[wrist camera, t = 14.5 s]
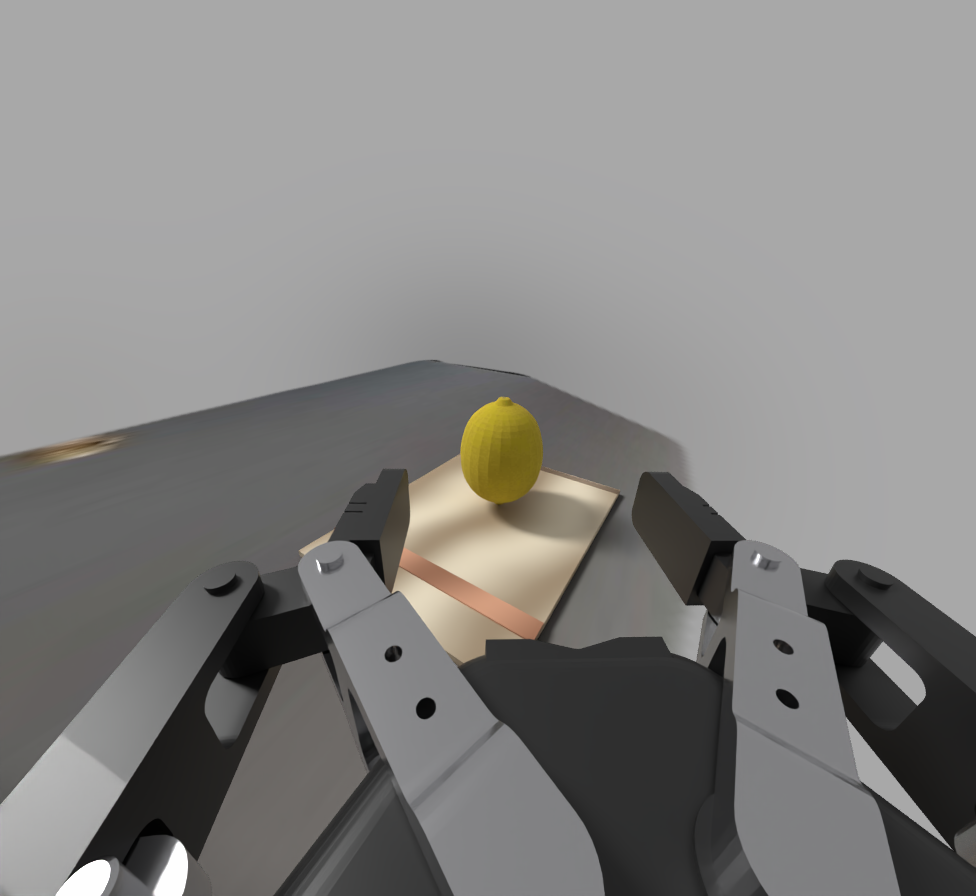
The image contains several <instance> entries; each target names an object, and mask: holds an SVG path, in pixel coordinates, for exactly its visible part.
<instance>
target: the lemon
mask: <svg viewBox="0 0 976 896" xmlns="http://www.w3.org/2000/svg"><path fill="white" fill-rule="evenodd" d="M542 459H543V445H542V438H541V433H540V430H539V427H538V424H537V422H536V420H535V419H534V417H533V416H532V415H531V414H530V413H529V412H528V411H527V410H526V409H525V408H523V407H522V406H520V405H518V404H516V403H513V402H512V401H511V400H510V398H508V397H500V398H499V399H498V400H497V401H496V402H492V403H489V404H487V405H485V406H483V407H482V408H480V409H479V410H478V411H476V412H475V413H474V414H473V415H472V417H471V418H470V420H469V422H468V423H467V426H466V428H465V431H464V434H463V438H462V443H461V466H462V471H463V475H464V478H465V480H466V482H467V483H468V485H469V486H470V488H471V489H472V490H473V491H474V492H475V493H476V494H477V495H478V496H480V497H481V498H483V499H485V500H487V501H490V502H494V503H495V504H497V505H502V504H504V503H508V502H512V501H515V500H517V499H519V498H521V497H523V496H524V495H525V494H527V493H528V492H529V490H530V489H531V488H532V487H533V486H534V484H535V483H536V481H537V478H538V476H539V472H540V469H541V465H542Z"/></svg>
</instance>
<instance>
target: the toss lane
mask: <svg viewBox="0 0 976 896" xmlns="http://www.w3.org/2000/svg"><path fill="white" fill-rule="evenodd" d="M408 486H409V499H410V523H409V528H408V532H407V536H406V540H405V544H404V548H403V552H402V556H401V560H400V564H399V567H398V571H397V575H396V579H395V583H394V587H393V591H392V593H394V592H396V591H400V592H401V593H402V594H403V595H404V596H405V597H406V598H407V600H408V601H409V602H410V604H411V605H412V607H413V608H414V609H415V611H416V612H417V613H418V615H419V616H420V617H421V619H422V620H423V621H424V623H425V624H426V626H427V627H428V628H429V630H430V631H431V632H432V634H433V635H434V636H435V638H436V639H437V640H438V642H439V643H440V645H441V646H442V647H443V649H444V650H445V651H446V653H447V654H448V655H449V657H450V658H451V659H452V661H453V662H454V663H456V664H457V665H459V666H460V665H462V664H463V663H465V662H467V661H469V660H472V659H474V658H476V657H479V656H482V655H485V643H486V639H533V640H538V638H539V636H540V634H541V632H542V631H543V629H544V627H545V625H546V624H547V622H548V620H549V618H550V617H551V615H552V613H553V611H554V609H555V608H556V606H557V604H558V602H559V601H560V599H561V597H562V595H563V593H564V592H565V590H566V588H567V586H568V585H569V583H570V581H571V579H572V577H573V576H574V574H575V572H576V570H577V569H578V567H579V565H580V563H581V561H582V560H583V558H584V556H585V554H586V553H587V551H588V549H589V547H590V545H591V544H592V542H593V540H594V538H595V537H596V535H597V533H598V531H599V529H600V528H601V526H602V524H603V522H604V521H605V519H606V517H607V515H608V513H609V512H610V510H611V508H612V506H613V505H614V503H615V501H616V499H617V497H618V496H619V493H620V490H617V489H614V488H611V487H608V486H604V485H601V484H598V483H595V482H591V481H588V480H585V479H582V478H578V477H575V476H572V475H569V474H565V473H562V472H559V471H556V470H552V469H549V468H546V467H542V466H541V469H540V472H539V476H538V478H537V481H536V483H535V484H534V486H533V487H532V488H531V489H530V490H529V492H528V493H527V494H525V495H524V496H523V497H521V498H519V499H517V500H515V501H512V502H508V503H504V504H502V505H497V504H495V503H494V502H490V501H487V500H485V499H483V498H481V497H480V496H478V495H477V494H476V493H475V492H474V491H473V490H472V489H471V488H470V486H469V485H468V483H467V482H466V480H465V478H464V475H463V471H462V466H461V454H459V455H458V456H456V457H454V458H453V459H451V460H449V461H448V462H446V463H444V464H443V465H441V466H439V467H438V468H436V469H434V470H433V471H431V472H429V473H428V474H426V475H424V476H423V477H421V478H419V479H418V480H416V481H414V482H413V483H411V484H409V485H408ZM334 529H335V528H334ZM333 531H334V530H332V531H331V532H329V533H327V534H326V535H324V536H322V537H321V538H319V539H317V540H316V541H314V542H312V543H311V544H309V545H307V546H306V547H304V548H302V549H301V550H299V554H300V556H301V557H302V558H303V556H304V555H305V554H306V553H307V552H309V551H310V550H311V549H313V548H315V547H317V546H319V545H321V544H324V543H327V542H328V540H329V538H330V536H331V535H332V533H333Z"/></svg>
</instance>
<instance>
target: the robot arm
mask: <svg viewBox="0 0 976 896" xmlns="http://www.w3.org/2000/svg"><path fill="white" fill-rule="evenodd" d="M632 521H633V525H634V527H635V529H636V530H637V532H638V533H639V535H640V536H641V538H642V539H643V541H644V542H645V544H646V546H647V547H648V549H649V550H650V552H651V553H652V555H653V556H654V558H655V559H656V561H657V562H658V564H659V565H660V567H661V568H662V570H663V571H664V573H665V574H666V576H667V578H668V579H669V581H670V582H671V584H672V585H673V587H674V588H675V590H676V591H677V593H678V594H679V596H680V597H681V599H682V600H683V602H684V603H685V605H704V606H705V607H706V608H707V610H706V613H705V615H704V618H703V623H702V629H701V636H700V642H699V648H698V654H697V661H696V662H695V661H692V660H690V659H688V658H685V657H682V656H679V655H676V654H673V653H670V651H669V650H668V648H667V646H666V644H665V642H664V640H663V638H662V637H619V638H616V639H612V640H609V641H606V642H602V643H599V644H596V645H592V646H589V647H586V648H582V649H573V648H568V647H564V646H560V645H555V644H551V643H546V642H542V641H537V640H533V639H486V643H485V655H482V656H479V657H476V658H474V659H472V660H469V661H467V662H465V663H463V664H462V665H460V666H458V667H457V666H456V665H455V664H454V662H453V661H452V659H451V658H450V657H449V655H448V654H447V653H446V651H445V650H444V649H443V647H442V646H441V645H440V643H439V642H438V640H437V639H436V638H435V636H434V635H433V634H432V632H431V631H430V630H429V628H428V627H427V626H426V624H425V623H424V621H423V620H422V619H421V617H420V616H419V615H418V613H417V612H416V611H415V609H414V608H413V607H412V605H411V604H410V602H409V601H408V600H407V598H406V597H405V596H404V595H403V594H402V593H401V592H400V591H396V592H394V593H392V591H393V587H394V583H395V579H396V575H397V571H398V567H399V564H400V560H401V556H402V552H403V548H404V544H405V540H406V536H407V532H408V528H409V523H410V499H409V486H408V474H407V470H406V469H383V470H382V472H381V474H380V476H379V478H378V480H377V482H376V484H365V485H364V486H362V487H361V488H360V489H358V490H357V491H356V492H355V493H354V495H353V497H352V498H351V500H350V502H349V504H348V506H347V507H346V509H345V513H343V515H342V516H341V518H340V520H339V522H338V524H337V526H336V527H335V529H334V531H333V533H332V535H331V536H330V538H329V540H328V542H327V543H324V544H321V545H319V546H317V547H315V548H313V549H311V550H310V551H309V552H307V553H306V554H305V555H304V556H303V558H302V559H301V561H300V562H299V565H298V566H296V567H293V568H289V569H285V570H281V571H277V572H272V573H268V574H264V575H260V574H259V571H258V568H257V567H256V565H254V564H253V563H250V562H246V561H234V562H229V563H225V564H221V565H218V566H216V567H213V568H211V569H209V570H207V571H205V572H204V573H202V574H200V575H199V576H197V577H196V578H195V579H194V580H192V581H191V582H190V583H189V584H188V585H187V587H186V588H185V589H184V590H183V591H182V592H181V594H180V595H179V596H178V597H177V598H176V599H175V601H174V602H173V603H172V604H171V605H170V607H169V608H168V609H167V610H166V611H165V612H164V614H163V615H162V616H161V617H160V618H159V619H158V621H157V622H156V623H155V624H154V625H153V627H152V628H151V629H150V630H149V631H148V632H147V634H146V635H145V636H144V637H143V638H142V639H141V641H140V642H139V643H138V644H137V645H136V647H135V648H134V649H133V650H132V651H131V652H130V654H129V655H128V656H127V657H126V658H125V659H124V661H123V662H122V663H121V664H120V665H119V667H118V668H117V669H116V670H115V671H114V672H113V674H112V675H111V676H110V677H109V678H108V679H107V681H106V682H105V683H104V684H103V685H102V687H101V688H100V689H99V690H98V691H97V692H96V694H95V695H94V696H93V697H92V698H91V699H90V701H89V702H88V703H87V704H86V705H85V707H84V708H83V709H82V710H81V711H80V712H79V714H78V715H77V716H76V717H75V718H74V719H73V721H72V722H71V723H70V724H69V725H68V727H67V728H66V729H65V730H64V731H63V732H62V734H61V735H60V736H59V737H58V738H57V739H56V741H55V742H54V743H53V744H52V745H51V746H50V748H49V749H48V750H47V751H46V752H45V754H44V755H43V756H42V757H41V758H40V759H39V761H38V762H37V763H36V764H35V765H34V766H33V768H32V769H31V770H30V771H29V772H28V774H27V775H26V776H25V777H24V778H23V779H22V781H21V782H20V783H19V784H18V785H17V786H16V788H15V789H14V790H13V791H12V792H11V794H10V795H9V796H8V797H7V798H6V799H5V801H4V802H3V803H2V804H1V805H0V896H212V887H211V882H210V879H209V877H208V875H207V873H206V872H205V871H204V870H203V868H202V867H201V866H200V865H199V864H198V862H197V861H198V858H199V856H200V854H201V851H202V849H203V847H204V844H205V842H206V840H207V837H208V835H209V833H210V830H211V828H212V826H213V823H214V821H215V819H216V816H217V814H218V812H219V810H220V807H221V805H222V803H223V800H224V798H225V796H226V793H227V791H228V789H229V786H230V784H231V782H232V779H233V777H234V775H235V772H236V770H237V768H238V765H239V763H240V761H241V758H242V756H243V754H244V751H245V749H246V747H247V745H248V742H249V740H250V738H251V735H252V733H253V731H254V728H255V726H256V724H257V721H258V719H259V717H260V714H261V712H262V710H263V707H264V705H265V703H266V700H267V698H268V696H269V693H270V691H271V689H272V687H273V684H274V682H275V680H276V677H277V675H278V673H279V670H280V668H281V666H282V664H285V663H288V662H291V661H295V660H298V659H301V658H304V657H307V656H310V655H314V654H317V653H321V656H322V658H323V661H324V663H325V665H326V668H327V670H328V673H329V675H330V678H331V680H332V683H333V685H334V687H335V690H336V692H337V695H338V697H339V700H340V702H341V705H342V707H343V710H344V712H345V715H346V717H347V720H348V723H349V726H350V729H351V732H352V735H353V738H354V741H355V744H356V747H357V749H358V752H359V754H360V757H361V759H362V762H363V764H364V767H365V769H366V772H367V776H366V777H365V778H364V779H363V781H362V782H361V783H360V785H359V786H358V787H357V788H356V790H355V791H354V792H353V794H352V795H351V796H350V797H349V799H348V800H347V801H346V803H345V804H344V805H343V807H342V808H341V809H340V810H339V812H338V813H337V814H336V816H335V817H334V818H333V819H332V821H331V822H330V823H329V825H328V826H327V827H326V828H325V830H324V831H323V832H322V834H321V835H320V836H319V838H318V839H317V840H316V841H315V843H314V844H313V845H312V847H311V848H310V849H309V850H308V852H307V853H306V854H305V856H304V857H303V858H302V860H301V861H300V862H299V863H298V865H297V866H296V867H295V869H294V870H293V871H292V872H291V874H290V875H289V876H288V878H287V879H286V880H285V881H284V883H283V884H282V885H281V887H280V888H279V889H278V891H277V892H276V893H275V894H274V896H976V637H975V636H974V635H973V634H971V633H970V632H969V631H967V630H966V629H965V628H963V627H962V626H960V625H959V624H958V623H956V622H955V621H954V620H952V619H951V618H950V617H948V616H947V615H946V614H944V613H943V612H942V611H940V610H939V609H937V608H936V607H935V606H934V605H932V604H931V603H930V602H928V601H927V600H925V599H924V598H923V597H921V596H920V595H919V594H917V593H916V592H915V591H913V590H912V589H910V588H909V587H908V586H907V585H905V584H904V583H903V582H901V581H900V580H898V579H897V578H895V577H894V576H892V575H890V574H889V573H886V572H885V571H883V570H881V569H878V568H876V567H873V566H871V565H868V564H865V563H861V562H858V561H853V560H839V561H837V562H835V564H834V565H833V567H832V569H831V570H830V572H829V574H825V573H821V572H816V571H811V570H806V569H802V568H800V567H799V566H798V564H797V563H796V562H795V561H794V560H793V559H792V558H791V557H790V556H789V555H787V554H786V553H784V552H783V551H781V550H779V549H777V548H775V547H773V546H770V545H768V544H765V543H762V542H758V541H752V540H746V539H745V538H744V537H743V536H741V535H740V534H739V533H738V532H737V531H736V530H735V529H734V528H733V527H732V526H731V525H730V524H729V523H728V522H727V521H726V520H725V519H724V518H723V517H722V516H720V515H718V513H717V512H716V511H715V510H714V509H713V508H712V507H709V504H708V503H707V502H706V501H705V500H704V499H703V498H702V497H700V496H699V495H698V494H696V493H695V492H693V491H691V490H689V489H688V488H686V487H684V486H682V485H681V484H680V483H679V482H678V481H677V480H676V479H675V478H674V477H673V476H672V475H671V474H670V473H668V472H644V473H643V474H642V475H641V478H640V481H639V485H638V489H637V493H636V497H635V501H634V505H633V508H632ZM883 641H884V642H885V643H886V644H887V645H888V646H889V647H890V648H891V649H892V650H893V651H894V652H895V653H896V654H897V655H899V656H900V657H901V658H902V659H903V660H904V661H905V662H906V663H907V664H908V665H909V666H910V667H912V668H913V669H914V670H915V671H916V673H917V674H918V675H919V676H920V678H921V679H922V681H923V683H924V685H925V689H926V696H925V699H924V700H923V701H922V702H921V703H920V704H919V705H918V706H917V705H916V704H915V703H914V702H913V701H912V700H911V699H910V698H909V697H908V696H907V695H906V694H905V693H904V692H903V691H902V690H901V689H900V688H899V687H898V686H897V685H896V684H895V683H894V682H893V681H892V680H891V679H890V678H889V677H888V676H887V675H886V674H885V673H884V672H883V671H882V670H881V669H880V668H879V667H878V666H877V665H876V664H875V663H874V662H873V661H872V660H871V659H870V657H871V655H872V654H873V653H874V652H875V650H876V649H877V648H878V647H879V646H880V644H881V643H882V642H883ZM845 716H846V717H847V719H848V720H849V721H850V722H851V723H852V725H853V726H854V727H855V729H856V730H857V731H858V732H859V734H860V735H861V736H862V737H863V739H864V740H865V741H866V742H867V743H868V745H869V746H870V747H871V749H872V750H873V751H874V752H875V754H876V755H877V756H878V757H879V758H880V760H881V761H882V762H883V764H884V765H885V766H886V767H887V768H888V770H889V771H890V772H891V773H892V775H893V776H894V777H895V778H896V780H897V781H898V782H899V783H900V785H901V786H902V787H903V788H904V790H905V791H906V792H907V793H908V795H909V796H910V797H911V798H912V800H913V801H914V802H915V803H916V805H917V806H918V807H919V808H920V810H921V811H922V812H923V813H924V815H925V816H926V817H927V818H928V820H929V821H930V822H931V823H932V825H933V826H934V827H935V828H936V830H938V832H939V833H940V834H941V836H942V837H943V838H944V839H945V841H946V842H947V843H948V844H949V846H950V847H951V848H952V849H953V850H952V849H950V848H949V847H948V846H946V845H945V844H944V843H942V842H941V841H940V840H938V839H937V838H935V837H934V836H933V835H931V834H930V833H929V832H928V831H926V830H925V829H924V828H922V827H921V826H920V825H918V824H917V823H916V822H914V821H913V820H912V819H910V818H909V817H908V816H906V815H905V814H904V813H902V812H901V811H900V810H898V809H897V808H896V807H894V806H893V805H892V804H890V803H889V802H888V801H886V800H885V799H884V798H882V797H881V796H880V795H878V794H877V793H875V792H874V791H873V790H872V789H870V788H869V787H868V786H866V785H865V784H864V783H862V782H861V781H860V780H859V777H858V773H857V769H856V765H855V759H854V755H853V750H852V746H851V741H850V736H849V731H848V726H847V722H846V717H845Z"/></svg>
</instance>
